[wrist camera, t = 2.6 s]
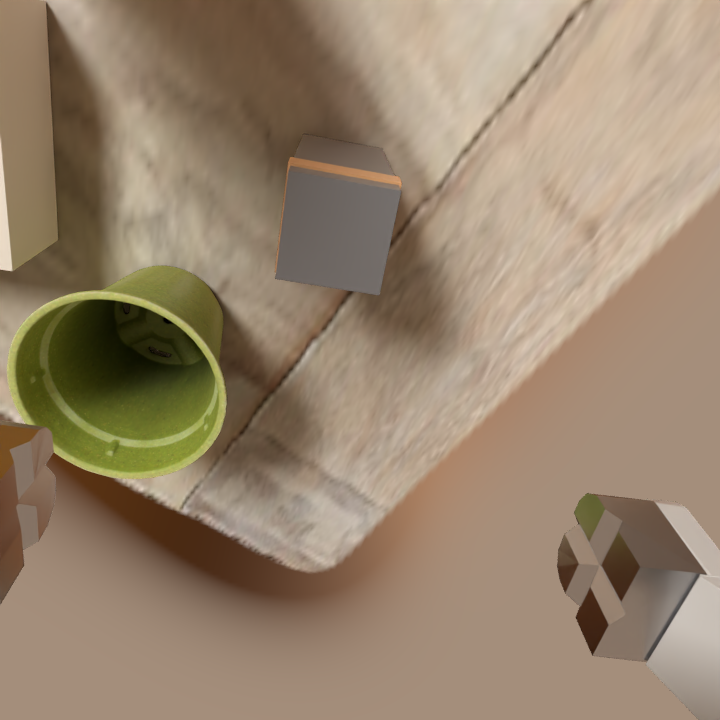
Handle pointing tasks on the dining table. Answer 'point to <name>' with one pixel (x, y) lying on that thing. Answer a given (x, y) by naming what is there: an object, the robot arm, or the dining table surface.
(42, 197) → the socket block
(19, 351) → the plant pot
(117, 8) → the dining table surface
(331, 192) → the plug
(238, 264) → the dining table surface
